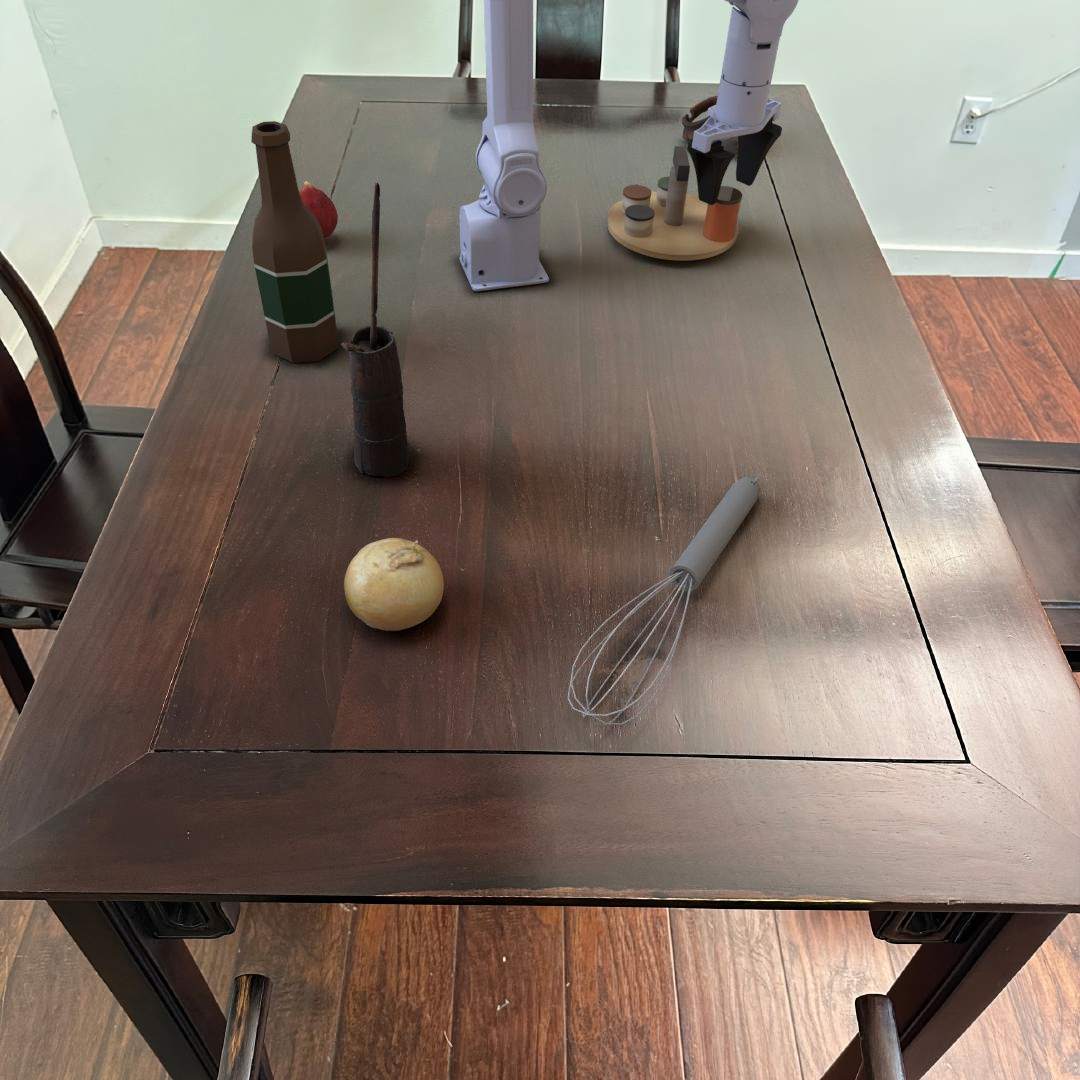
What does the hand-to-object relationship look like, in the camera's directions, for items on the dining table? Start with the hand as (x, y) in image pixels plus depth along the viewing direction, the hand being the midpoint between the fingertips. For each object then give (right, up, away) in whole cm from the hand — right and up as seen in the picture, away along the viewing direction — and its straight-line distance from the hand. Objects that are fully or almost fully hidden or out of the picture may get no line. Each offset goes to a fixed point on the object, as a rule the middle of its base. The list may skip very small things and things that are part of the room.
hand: (725, 192), depth 119 cm
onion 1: (-51, -5, +3) cm, 52 cm away
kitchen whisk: (-12, -48, -37) cm, 62 cm away
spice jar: (0, -4, +4) cm, 6 cm away
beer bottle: (-49, -21, -12) cm, 55 cm away
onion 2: (-35, -49, -38) cm, 71 cm away
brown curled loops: (+4, +17, +27) cm, 32 cm away
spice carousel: (-6, -2, +7) cm, 9 cm away
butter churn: (-39, -36, -26) cm, 59 cm away
